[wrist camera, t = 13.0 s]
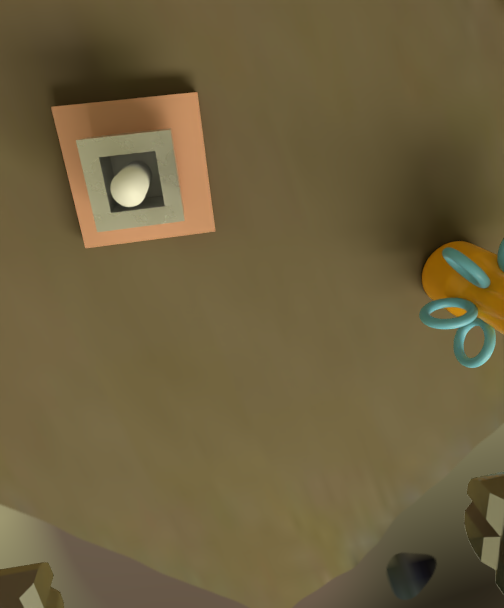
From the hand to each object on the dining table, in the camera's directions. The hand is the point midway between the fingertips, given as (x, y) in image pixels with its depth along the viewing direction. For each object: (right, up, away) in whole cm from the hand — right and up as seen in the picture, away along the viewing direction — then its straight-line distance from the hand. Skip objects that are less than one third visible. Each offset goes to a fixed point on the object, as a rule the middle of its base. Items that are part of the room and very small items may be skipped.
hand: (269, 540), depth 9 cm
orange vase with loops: (+18, +7, +34) cm, 39 cm away
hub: (-8, +14, +24) cm, 29 cm away
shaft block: (-9, +15, +27) cm, 32 cm away
